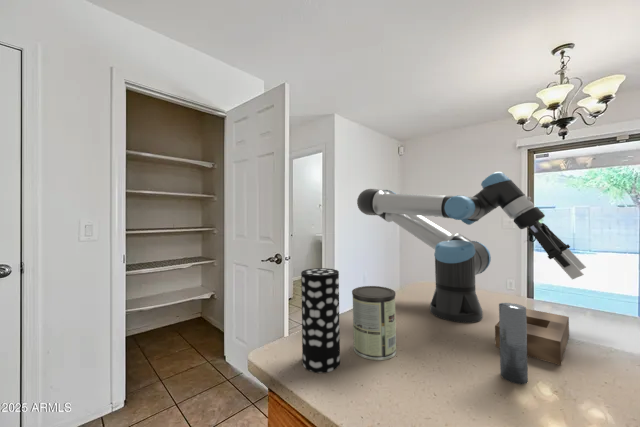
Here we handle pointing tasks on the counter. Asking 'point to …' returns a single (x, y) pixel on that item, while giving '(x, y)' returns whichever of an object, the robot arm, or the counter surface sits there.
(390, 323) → the coffee can
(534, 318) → the socket block
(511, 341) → the peg
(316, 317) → the spotted tube
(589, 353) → the counter surface
